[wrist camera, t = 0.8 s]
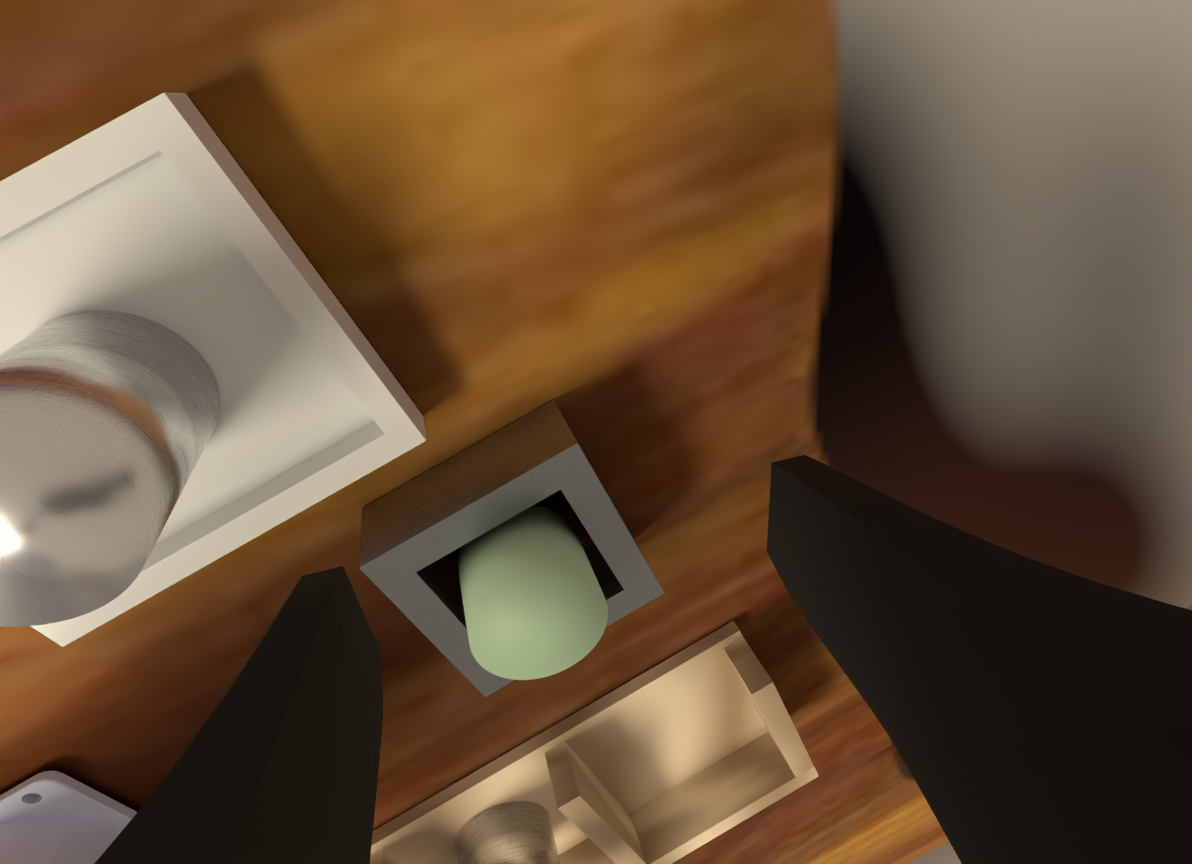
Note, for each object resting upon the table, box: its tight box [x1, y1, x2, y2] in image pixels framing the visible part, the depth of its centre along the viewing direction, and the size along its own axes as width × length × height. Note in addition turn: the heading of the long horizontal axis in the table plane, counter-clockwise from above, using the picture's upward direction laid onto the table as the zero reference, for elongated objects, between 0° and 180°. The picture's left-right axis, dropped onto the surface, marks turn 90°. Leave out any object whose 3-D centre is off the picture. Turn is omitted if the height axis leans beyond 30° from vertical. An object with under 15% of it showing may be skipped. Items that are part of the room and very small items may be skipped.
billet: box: [0, 310, 221, 626], centre depth 14 cm, size 4×4×6 cm
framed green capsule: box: [359, 400, 664, 697], centre depth 21 cm, size 7×7×3 cm
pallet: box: [370, 621, 818, 864], centre depth 28 cm, size 19×9×3 cm, turn 115°
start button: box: [458, 506, 608, 680], centre depth 19 cm, size 4×4×3 cm
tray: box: [0, 92, 426, 647], centre depth 16 cm, size 12×10×2 cm
